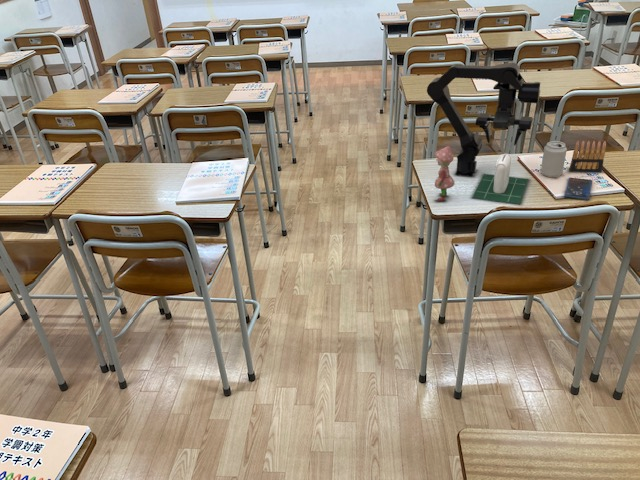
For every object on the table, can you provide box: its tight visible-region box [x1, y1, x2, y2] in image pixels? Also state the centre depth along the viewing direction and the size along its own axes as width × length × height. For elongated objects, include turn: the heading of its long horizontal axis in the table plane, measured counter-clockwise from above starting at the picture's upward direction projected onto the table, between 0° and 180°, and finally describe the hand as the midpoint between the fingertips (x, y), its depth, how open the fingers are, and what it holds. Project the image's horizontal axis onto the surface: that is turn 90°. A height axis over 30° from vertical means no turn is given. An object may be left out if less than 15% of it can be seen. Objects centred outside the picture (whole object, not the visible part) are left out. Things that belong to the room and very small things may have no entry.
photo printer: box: [493, 153, 512, 194], centre depth 172 cm, size 10×4×12 cm, turn 152°
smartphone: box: [564, 177, 593, 201], centre depth 169 cm, size 8×1×15 cm
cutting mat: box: [471, 173, 529, 205], centre depth 175 cm, size 16×20×1 cm
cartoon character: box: [434, 145, 455, 202], centre depth 168 cm, size 10×7×20 cm
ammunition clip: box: [568, 140, 607, 173], centre depth 177 cm, size 11×2×12 cm, turn 75°
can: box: [540, 140, 568, 178], centre depth 178 cm, size 8×8×12 cm
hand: (501, 143), depth 177 cm, fingers open, 9 cm apart
